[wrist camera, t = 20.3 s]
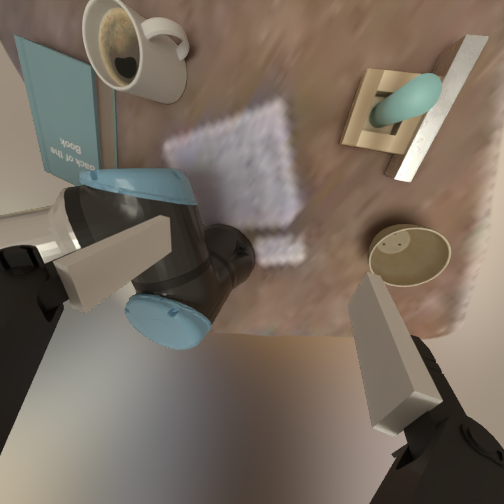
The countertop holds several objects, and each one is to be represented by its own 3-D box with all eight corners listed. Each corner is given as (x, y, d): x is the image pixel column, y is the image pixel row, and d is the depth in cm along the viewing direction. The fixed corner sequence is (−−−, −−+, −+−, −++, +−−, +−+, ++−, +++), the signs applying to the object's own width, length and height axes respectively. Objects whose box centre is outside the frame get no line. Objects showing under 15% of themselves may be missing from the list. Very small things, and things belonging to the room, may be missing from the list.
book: (120, 193, 48) (101, 197, 44) (65, 167, 49) (41, 169, 45) (117, 75, 36) (90, 66, 32) (44, 45, 37) (9, 32, 33)
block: (339, 144, 31) (341, 143, 28) (361, 78, 27) (367, 68, 24) (393, 153, 30) (403, 154, 26) (425, 85, 26) (442, 76, 22)
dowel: (364, 125, 28) (392, 113, 18) (375, 99, 27) (411, 70, 17) (386, 129, 28) (427, 119, 18) (398, 103, 26) (450, 76, 16)
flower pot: (348, 237, 37) (355, 254, 31) (404, 200, 32) (425, 212, 26) (380, 273, 38) (393, 297, 32) (439, 244, 33) (467, 265, 27)
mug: (140, 94, 36) (85, 77, 27) (142, 20, 31) (75, -28, 22) (193, 116, 35) (153, 105, 27) (203, 44, 30) (159, 3, 22)
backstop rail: (383, 174, 31) (394, 178, 27) (440, 54, 24) (466, 34, 20) (397, 177, 31) (410, 182, 27) (458, 56, 24) (489, 36, 19)
